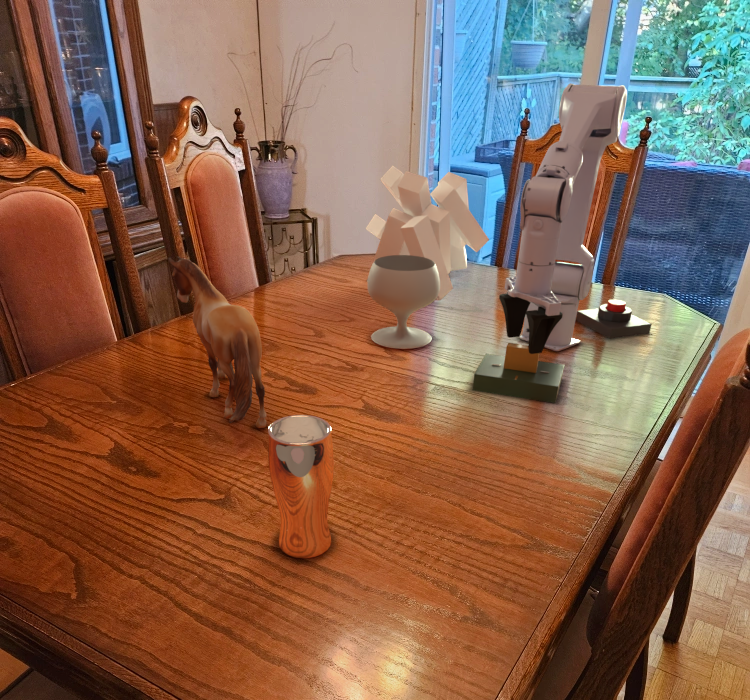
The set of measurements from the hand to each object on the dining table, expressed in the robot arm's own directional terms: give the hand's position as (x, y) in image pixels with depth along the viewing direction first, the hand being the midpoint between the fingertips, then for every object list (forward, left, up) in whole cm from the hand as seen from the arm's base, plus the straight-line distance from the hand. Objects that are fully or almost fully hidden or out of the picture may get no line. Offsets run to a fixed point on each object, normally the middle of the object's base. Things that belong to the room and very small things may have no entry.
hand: (524, 344), depth 112 cm
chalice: (-29, -1, -8) cm, 30 cm away
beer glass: (+13, -55, -8) cm, 57 cm away
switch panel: (0, 0, -7) cm, 7 cm away
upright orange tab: (0, 0, -4) cm, 4 cm away
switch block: (-7, +40, -7) cm, 41 cm away
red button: (-7, +40, -4) cm, 40 cm away
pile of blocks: (-54, +30, -8) cm, 62 cm away
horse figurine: (-24, -46, -8) cm, 52 cm away
